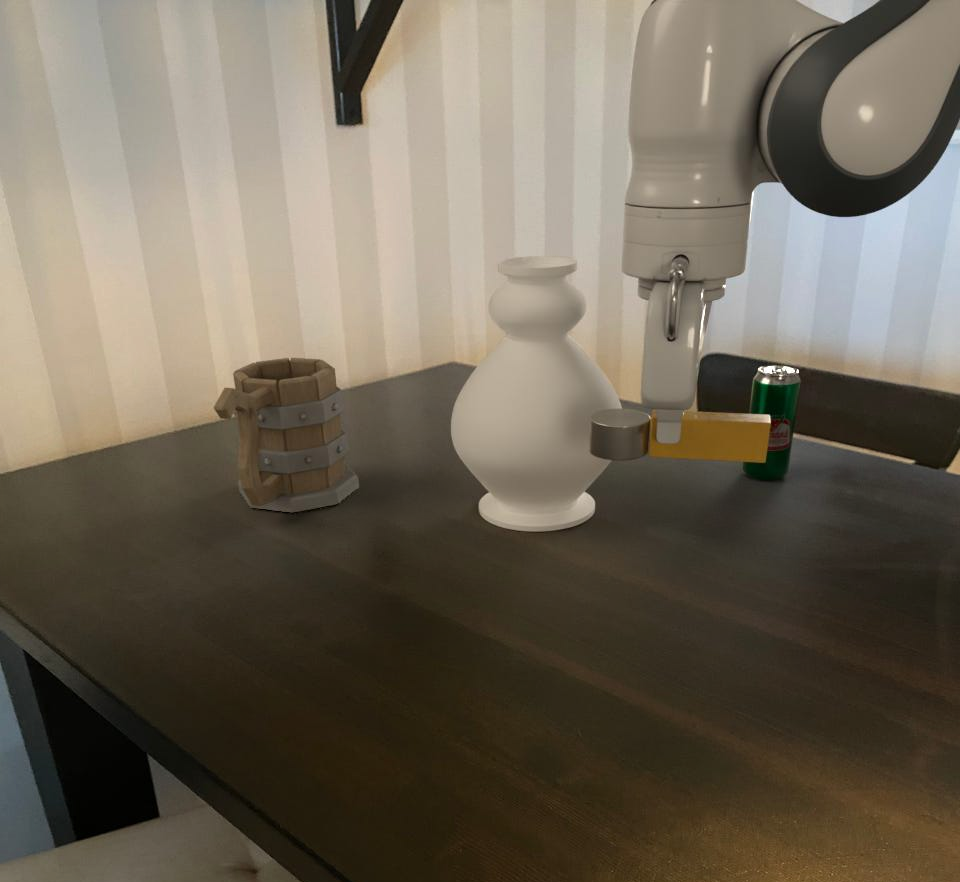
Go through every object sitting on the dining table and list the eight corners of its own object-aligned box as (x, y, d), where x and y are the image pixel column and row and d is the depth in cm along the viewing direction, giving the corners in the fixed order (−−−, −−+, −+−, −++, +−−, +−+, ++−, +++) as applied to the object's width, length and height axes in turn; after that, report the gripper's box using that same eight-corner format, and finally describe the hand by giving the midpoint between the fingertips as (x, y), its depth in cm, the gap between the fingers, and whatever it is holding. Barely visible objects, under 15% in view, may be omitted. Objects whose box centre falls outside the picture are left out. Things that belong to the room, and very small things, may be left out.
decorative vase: (640, 491, 104) (654, 251, 92) (587, 553, 90) (596, 281, 78) (495, 471, 111) (490, 246, 98) (425, 527, 97) (410, 272, 85)
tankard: (279, 468, 114) (261, 343, 106) (373, 478, 110) (361, 348, 103) (183, 531, 98) (154, 389, 90) (289, 545, 94) (268, 398, 87)
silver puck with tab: (764, 448, 75) (769, 409, 74) (765, 469, 71) (771, 428, 70) (592, 440, 78) (594, 402, 77) (584, 459, 74) (586, 419, 73)
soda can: (741, 480, 106) (754, 375, 100) (741, 465, 110) (754, 363, 104) (788, 483, 105) (803, 376, 99) (786, 468, 109) (801, 364, 103)
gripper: (727, 270, 58) (706, 482, 65) (730, 229, 75) (713, 400, 82) (625, 269, 59) (615, 477, 66) (651, 229, 76) (641, 397, 83)
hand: (669, 433), depth 74 cm, fingers closed on silver puck with tab, 2 cm apart
